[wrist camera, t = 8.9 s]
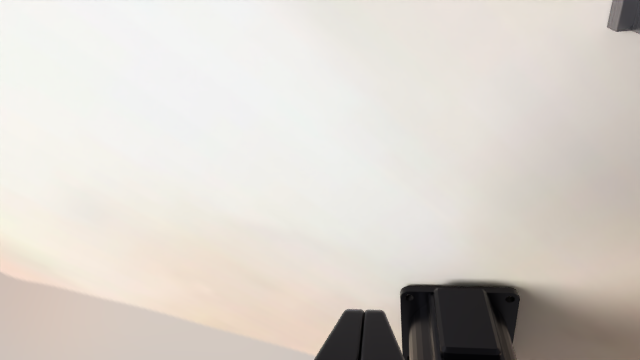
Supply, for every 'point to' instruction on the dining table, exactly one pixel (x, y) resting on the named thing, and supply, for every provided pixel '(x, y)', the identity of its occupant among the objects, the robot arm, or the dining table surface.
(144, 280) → the dining table surface
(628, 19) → the stand
